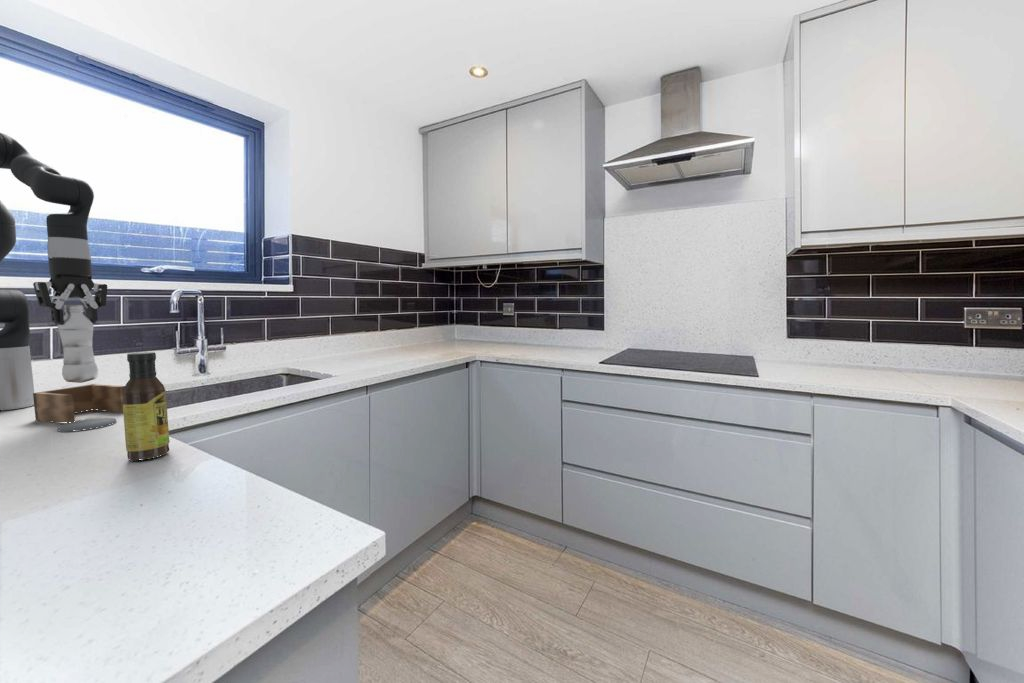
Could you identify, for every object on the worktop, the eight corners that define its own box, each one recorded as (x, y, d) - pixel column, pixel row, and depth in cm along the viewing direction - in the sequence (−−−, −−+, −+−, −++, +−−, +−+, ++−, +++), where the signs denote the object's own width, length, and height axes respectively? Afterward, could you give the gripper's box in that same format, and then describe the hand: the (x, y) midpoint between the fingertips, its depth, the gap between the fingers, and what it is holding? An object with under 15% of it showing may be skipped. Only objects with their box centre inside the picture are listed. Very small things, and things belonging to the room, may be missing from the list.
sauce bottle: (168, 458, 80) (160, 353, 78) (124, 465, 77) (114, 355, 75) (172, 448, 85) (164, 350, 84) (130, 454, 82) (122, 352, 80)
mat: (46, 430, 99) (46, 427, 99) (98, 418, 108) (98, 416, 108) (76, 433, 96) (75, 430, 96) (126, 421, 106) (126, 419, 105)
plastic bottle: (106, 380, 114) (99, 304, 112) (77, 385, 107) (70, 305, 105) (84, 379, 114) (77, 304, 112) (55, 384, 107) (47, 304, 106)
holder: (35, 420, 107) (32, 393, 106) (95, 408, 119) (93, 384, 118) (68, 424, 104) (66, 395, 103) (126, 411, 116) (124, 386, 115)
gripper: (94, 260, 115) (99, 322, 117) (21, 254, 102) (27, 324, 103) (113, 259, 113) (118, 322, 115) (41, 253, 100) (48, 325, 101)
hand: (75, 323), depth 109 cm, fingers closed on plastic bottle, 6 cm apart
